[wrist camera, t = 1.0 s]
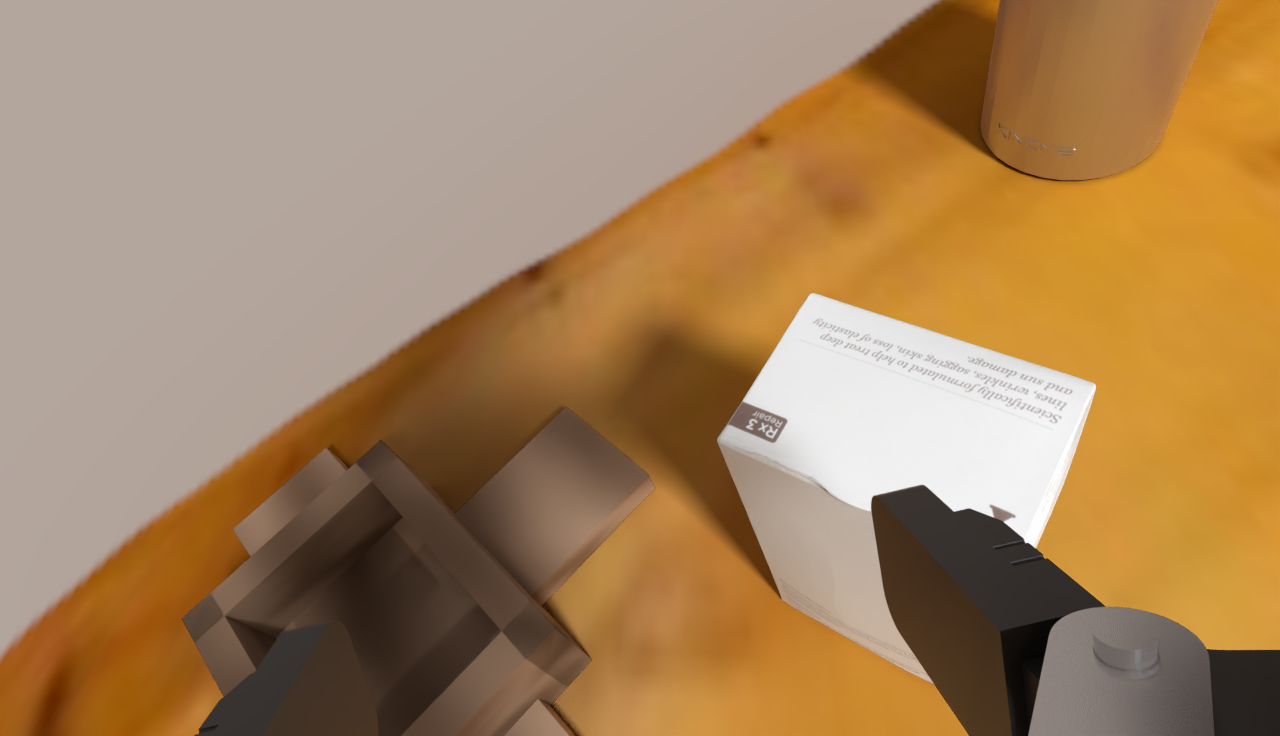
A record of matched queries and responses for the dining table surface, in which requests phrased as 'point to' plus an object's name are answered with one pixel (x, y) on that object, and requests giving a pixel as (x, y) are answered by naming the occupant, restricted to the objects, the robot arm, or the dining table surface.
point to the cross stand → (429, 580)
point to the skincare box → (888, 452)
